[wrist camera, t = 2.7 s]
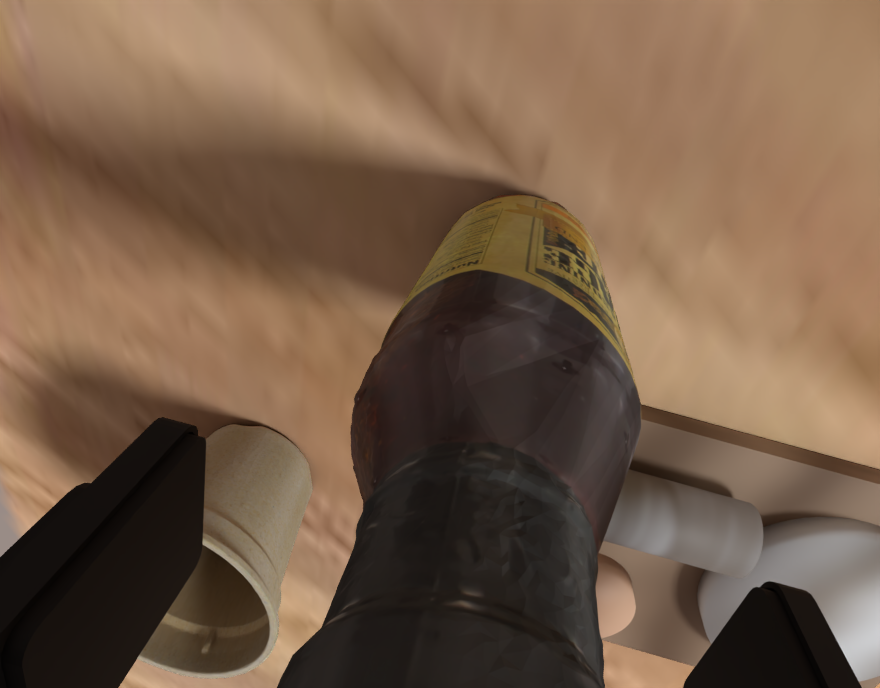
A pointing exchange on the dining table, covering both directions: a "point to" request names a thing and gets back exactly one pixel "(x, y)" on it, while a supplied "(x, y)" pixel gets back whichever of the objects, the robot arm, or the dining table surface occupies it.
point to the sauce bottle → (485, 468)
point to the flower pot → (236, 557)
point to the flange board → (733, 479)
